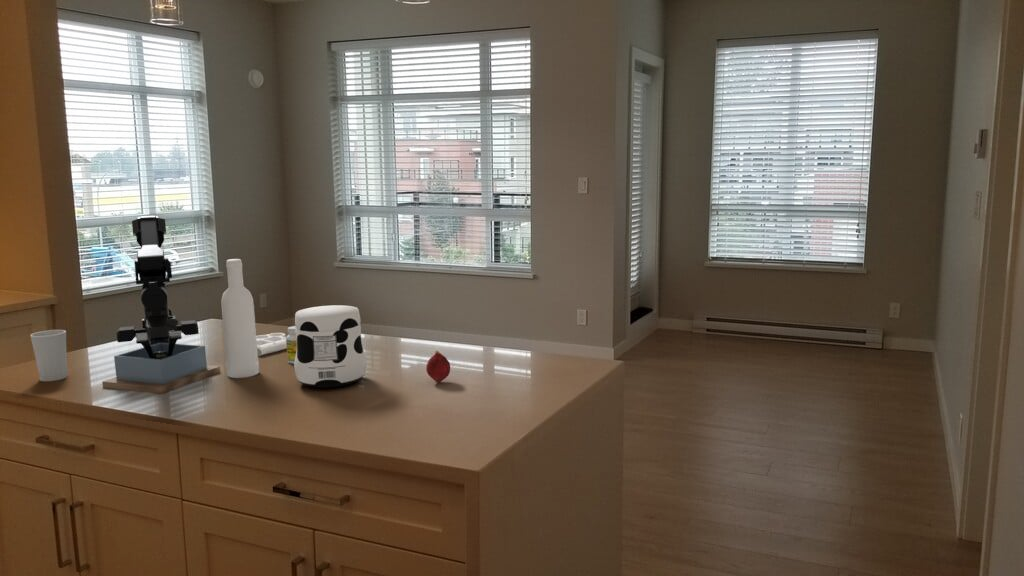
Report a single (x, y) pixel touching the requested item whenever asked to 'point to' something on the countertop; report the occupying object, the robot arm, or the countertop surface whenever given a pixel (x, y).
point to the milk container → (329, 346)
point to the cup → (50, 354)
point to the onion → (438, 367)
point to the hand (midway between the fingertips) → (161, 363)
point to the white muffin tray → (270, 343)
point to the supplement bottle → (291, 344)
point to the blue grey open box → (160, 364)
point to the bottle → (239, 325)
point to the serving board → (160, 387)
